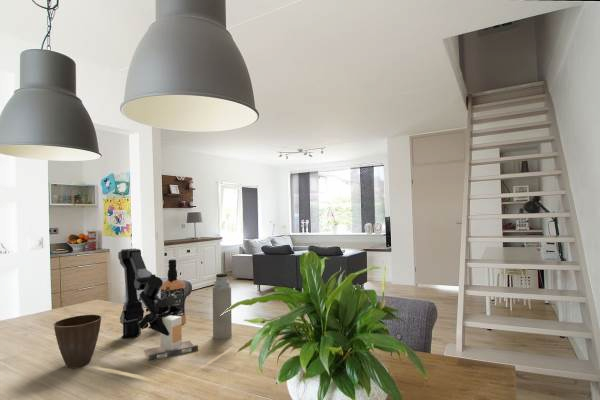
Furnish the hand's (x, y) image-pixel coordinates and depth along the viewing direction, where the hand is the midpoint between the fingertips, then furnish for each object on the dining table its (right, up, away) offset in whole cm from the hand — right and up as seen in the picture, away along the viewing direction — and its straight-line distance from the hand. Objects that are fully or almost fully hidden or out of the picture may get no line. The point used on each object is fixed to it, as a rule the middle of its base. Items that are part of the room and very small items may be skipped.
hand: (173, 332), depth 139 cm
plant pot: (-33, -9, -8) cm, 35 cm away
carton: (-1, -6, 0) cm, 6 cm away
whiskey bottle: (-15, -10, +40) cm, 44 cm away
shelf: (-2, -8, +1) cm, 9 cm away
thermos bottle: (+15, -9, +16) cm, 24 cm away
